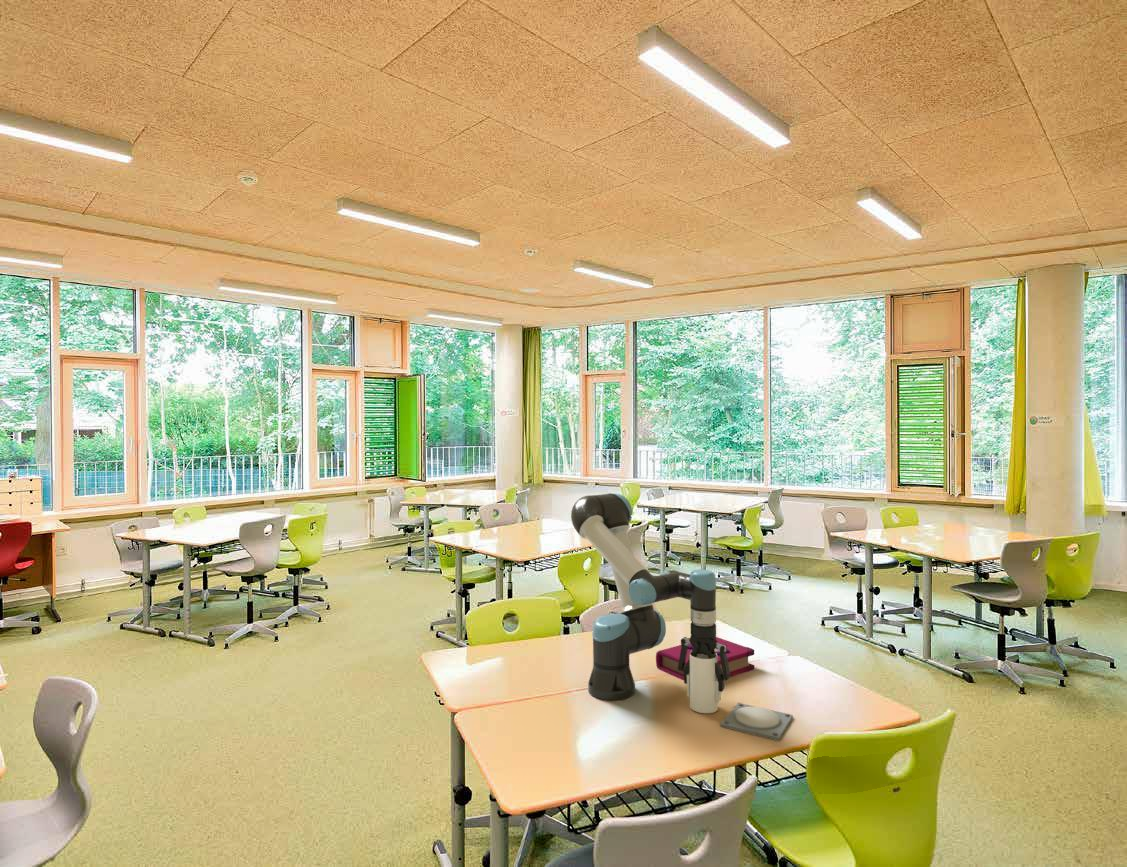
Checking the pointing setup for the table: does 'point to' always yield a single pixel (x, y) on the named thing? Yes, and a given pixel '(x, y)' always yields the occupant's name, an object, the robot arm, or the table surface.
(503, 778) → the table surface
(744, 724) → the flange board
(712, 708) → the cup
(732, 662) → the book
